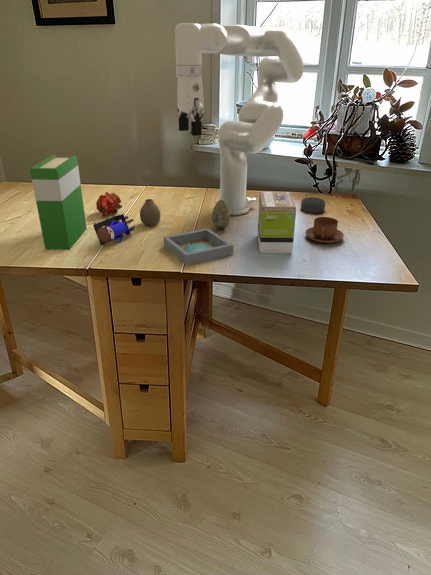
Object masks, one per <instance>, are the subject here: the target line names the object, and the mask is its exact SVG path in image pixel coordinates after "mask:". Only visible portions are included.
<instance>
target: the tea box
mask: <svg viewBox="0 0 431 575" xmlns="http://www.w3.org/2000/svg"><path fill="white" fill-rule="evenodd" d="M296 216H297V206H296V203H295V201H294V198H293V197H292V193H291V191H259V194H258V216H257V218H258V219H257V241H258V248H259V253H260V254H293V248H294V239H295V238H294V237H295V227H296Z"/></svg>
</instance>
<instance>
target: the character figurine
mask: <svg viewBox="0 0 431 575" xmlns="http://www.w3.org/2000/svg"><path fill="white" fill-rule="evenodd" d="M128 219H129V216H128V215H127V216H126V215H125V214H124V213H122V214H118V215H117V214H116V215H113V216H111V217H109V218H107V219H104V220H102V221H98V222H96V223H93V224H92V226H93V229H94V231H95V234H96V236H97V239H98V241H99V245H100V246H101V247H102V246H104V245H106V244H110V243H112V242H113V241H118V242H120V243H121V242H122V241H123V239H124V238H125V237H126V236H130V235H132V234H131V232H133V231H135V228H136V227H137V226H136V225H132V226H131V227H129V225H128V224H130V223H132V222H134V221H135V219H133V218H131V219H129V220H128Z"/></svg>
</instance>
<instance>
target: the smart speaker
mask: <svg viewBox="0 0 431 575" xmlns="http://www.w3.org/2000/svg"><path fill="white" fill-rule="evenodd" d="M300 209H301V211H303V212H305V213H308V214H309V213H310V214H320V213H322V212H324V211H325V209H326V200H324V199H322V198H319V197H313V196H309V197H308V196H307V197H303V198H302V199H301V202H300Z"/></svg>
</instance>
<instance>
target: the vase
mask: <svg viewBox="0 0 431 575" xmlns="http://www.w3.org/2000/svg"><path fill="white" fill-rule="evenodd" d="M139 219H140V222H141V223H142V224H143V225H144V226H145V227H149V228H153V227H155V226H157V225H158V224H159V223H160V220H161V211H160V208H159V206H158V205H157V204H156V202H155V201H154V199H152V198H147V199H145V200H144V203H143V204H142V206H141V208H140V210H139Z"/></svg>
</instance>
